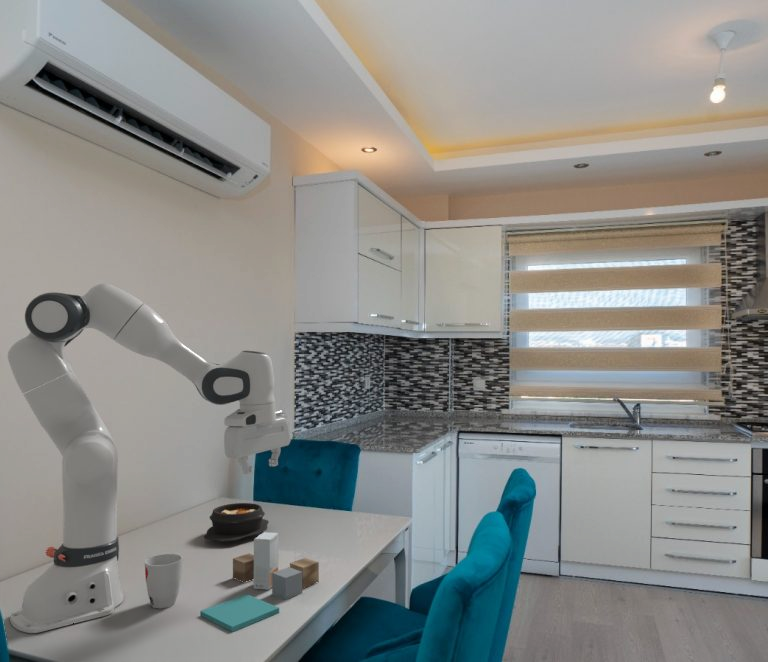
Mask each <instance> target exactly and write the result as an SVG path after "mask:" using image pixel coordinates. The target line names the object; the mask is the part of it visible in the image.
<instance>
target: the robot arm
mask: <svg viewBox="0 0 768 662" xmlns="http://www.w3.org/2000/svg"><path fill="white" fill-rule="evenodd" d="M24 322H25V325H26V327H27V329H28V330H29V334H28V335H26V336H25V337H22V338H21V339H19V340H17V341H16V342H14V343H13V345H12V346H11V347H10V348H9V350H8V352H7V359H8V363H9V366H10V369H11V372H12V374H13V377H14V379H15V382H16V384H17V386H18V388H19V389H20V391H21V393H22V394H23V397H24V398H25V400H26V402H27V404H28V405H29V407H30V409H31V411H32V412H33V415H35V418H36V419H37V421H38V422H39V425H40V426H41V427H42V428H43V429H44V431H45V432H46V434H47V435H48V436H49V438H50V439H51V440H52V442H53V444H54V445H55V446H56V448H57V449H58V451H59V453H60V454H61V456H62V458H61V459H62V460H61V461H62V462H61V467H62V469H61V472H62V473H61V474H62V476H61V478H62V481H61V482H62V508H63V509H62V510H63V512H62V513H63V514H62V516H63V518H62V520H63V521H62V522H63V523H62V525H63V527H62V531H63V532H62V535H63V537H62V539H63V540H62V544H61V545H60V546H59V547H58V548H55V547H54V546H50V547H47V549H46V550H45V552H44V553H45V555H46V556H47V557H49V558H52V559H53V563H52V565H51V566H49V567H48V569H46V570H45V571H44V572H43V573H41V574H40V575H39V576H38V577H37V578H36V579H35V580H34V581H33V582H31V584H29V585H28V586H27V588H26V589H25V591H24V594H23V595H24V596H23V600H22V607H21V608H18V609H15V610H13V611H12V612H11V614H10V618H9V623H10V625H12V627H13V628H15V630H18V631H21V632H22V633H29V634H37V633H42V632H46V631H50V630H54V629H59V628H62V627H66V626H69V625H73V623H74V624H77V623H83V622H85V621H90V620H93V619H97V618H98V619H99V618H100V617H106V616H109V615H111V614H112V613H113V611H114V610H115V608H116V607H118V606H119V605H120V604H122V603H123V601H124V598H125V595H124V592H123V590H122V585H121V582H120V576H119V568H118V567H119V564H118V561H119V555H120V544H119V537H118V536H117V531H118V528H117V527H118V524H117V522H118V520H117V519H118V517H117V515H118V511H117V509H118V505H117V504H118V502H117V501H118V457H119V456H118V451H117V444H116V442H115V440H114V439H113V436H112V435H111V433H110V431H109V430H108V428H107V426H106V424H105V423H104V421H103V419H102V418H101V416H100V414H99V412H98V411H97V410H96V408H95V406H94V405H93V403H92V402H91V400H90V398H89V397H88V395H87V393H86V391H85V389H84V388H83V386H82V384H81V382H80V380H79V378H78V376H77V375H76V374H75V371H74V369H73V368H72V366H71V364H70V362H69V360H68V358H67V357H66V355H65V351H64V350H65V347H67V345H69V344H70V343H71V342H72V341H73V340H75V339H76V338H77V337H78V336H80V334H82V333H83V331H84V329H94V330H97V331H99V332H101V333H102V334H104V335H106V336H107V337H109V338H110V339H112V340H113V341H115V342H116V343H117V344H119V345H120V346H122V347H124V348H125V349H127V350H129V351H132V352H134V353H135V354H138V355H141V356H144V357H148V358H152V359H155V360H158V361H160V362H162V363H164V364H166V365H168V366H169V367H171V368H172V369H173V370H175V371H177V373H180V374H181V375H182V376H184V377H185V378H186V379H188V380H189V381H190V382H192V383H193V385H194V386H195V388H196V390H197V392H198V393H199V395H200V396H201V397H202V399H204V400H205V401H206V402H209V403H211V404H212V405H216V406H226V405H228V404H231V403H234V402H237V401H238V402H239V408H238V409H236V410H235V411H234V412H232V413H230V414H229V415H228V416H227V415H226V417H225V418H224V421H223V422H224V426H226V428H225V430H224V435H223V436H224V437H223V443H224V445H223V446H224V454H225V456H226V458H228V459H237V462H238V463H239V465H240V466H241V471H242V475H249V474H251V473H253V471H252V466H251V465H249V462H248V460H249V456H251V455H256V454H259V453H263V452H268V451H270V452H271V457H270V458H269V459H268V462H269V463H268V465H269V467H276V466H278V465H279V460H278V459H279V457H280V455H281V451H282V450H281V448H284V447H288V446H289V445H290V443H291V441H292V439H291V438H292V437H291V430H290V426H289V425H290V424H289V422H288V416H287V414H286V413H285V412H284V411H283V410H276V409H277V408H276V398H275V395H274V388H275V373H274V366H273V361H272V358H271V357H270V356H269V355H268V354H267V353H266V352H261V351H254V350H241V351H240V353H238V354H237V355H236V356H234V357H232V358H231V359H229V360H227V361H225V362H223V363H220V364H217V363H212V362H209V361H208V360H205V359H204V358H203V357H201V356H200V355H198V354H197V353H195V352H194V351H193V350H191V349H190V348H189V347H187V346H186V345H184V344H183V343H182V342H181V341H180V340H179V339H178V338H177V337H176V336H175V334H174V333H173V331H172V330H171V328H170V326H169V325H168V323H167V322H166V320H165V319H164V318H162V316H160V315H159V314H158V313H157V312H156V311H155V310H154V308H152V307H150V306H149V305H148V304H146V303H144V302H143V301H142V300H140V299H139V298H138V297H136V296H135V295H133V294H131V293H129V292H128V291H126V290H124V289H122V288H119V287H118V286H115V285H114V284H112V283H111V284H110V283H107V282H102V283H99V284H95V285H94V286H92V287H91V288H90V289H89V290H88V291H87V292H86V293H85V294H84V295H83V296H80V295H78V294H77V295H76V294H70V293H64V292H54V291H53V292H45V293H42V294H39V295H38V296H36V297H35V298H33V299H32V300H31V301H29V303H28V305H27V306H26V309H25V312H24Z"/></svg>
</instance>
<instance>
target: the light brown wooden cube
mask: <svg viewBox="0 0 768 662" xmlns="http://www.w3.org/2000/svg"><path fill="white" fill-rule="evenodd" d="M319 563H320V562H319V561H316V560H314V559H310V558H307V557H304V558H301V559H298V560H294V561H291V562H290V563H289V567H290V568H293V569H296V570H298V571H301V572H302V589H305V588H304V587H306V588H308V587H310V586H309V585H311V586H313V585H315V584H314V583H316V582H318V583H319V581H320V579H319V572H320V571H319V570H320V568H319V567H320V565H319ZM312 584H313V585H312ZM316 584H317V583H316ZM307 586H308V587H307Z"/></svg>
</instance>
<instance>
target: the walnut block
mask: <svg viewBox="0 0 768 662" xmlns="http://www.w3.org/2000/svg"><path fill="white" fill-rule="evenodd" d="M234 578H236V579H238V580H237V581H239V580H241V581H243V582H242V583H244V582H246V581H249V580H251V581H253V580H252V579H254V554H252V553H247V554H243V555H240V556H236V557H233V558H232V579H234ZM236 579H235V580H236ZM241 581H240V582H241ZM249 582H250V581H249ZM246 583H247V582H246Z"/></svg>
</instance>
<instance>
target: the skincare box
mask: <svg viewBox="0 0 768 662" xmlns="http://www.w3.org/2000/svg"><path fill="white" fill-rule="evenodd" d="M253 555H254V580H253V589H254V590H265V591H266V590H267V591H270V590H271V589H272V573H273V572H276V571H279V532H267V531H264V532H262V533H260V534H258V536H257V537H255V538H254V539H253Z"/></svg>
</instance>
